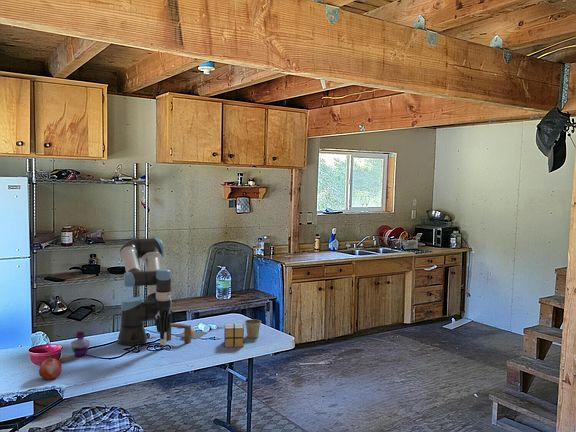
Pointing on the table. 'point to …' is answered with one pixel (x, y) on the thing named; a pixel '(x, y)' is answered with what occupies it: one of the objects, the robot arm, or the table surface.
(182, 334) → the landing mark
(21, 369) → the table surface
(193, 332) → the ball
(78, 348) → the potion bottle
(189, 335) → the bridge
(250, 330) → the flower pot
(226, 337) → the puzzle cube
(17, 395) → the table surface
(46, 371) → the fruit
